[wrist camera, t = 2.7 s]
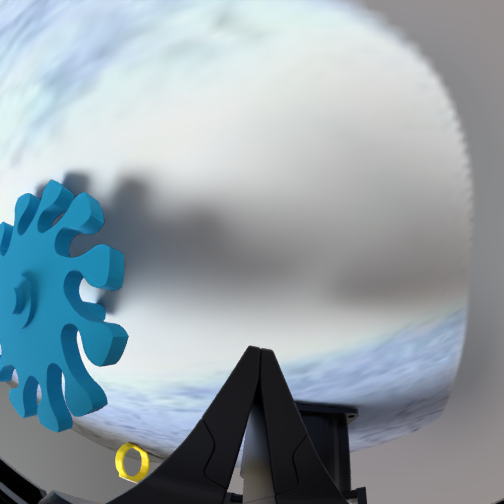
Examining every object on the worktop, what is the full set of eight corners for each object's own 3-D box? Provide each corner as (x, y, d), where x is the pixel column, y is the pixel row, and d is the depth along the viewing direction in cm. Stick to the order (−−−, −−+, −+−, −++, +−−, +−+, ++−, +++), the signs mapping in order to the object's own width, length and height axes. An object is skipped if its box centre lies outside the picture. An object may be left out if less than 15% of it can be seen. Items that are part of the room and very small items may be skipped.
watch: (156, 454, 30) (149, 487, 25) (142, 451, 30) (135, 482, 25) (131, 441, 27) (121, 477, 22) (117, 437, 27) (107, 472, 22)
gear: (145, 172, 7) (92, 486, 5) (204, 236, 13) (164, 435, 10) (-5, 177, 9) (-40, 354, 7) (57, 214, 15) (28, 357, 12)
